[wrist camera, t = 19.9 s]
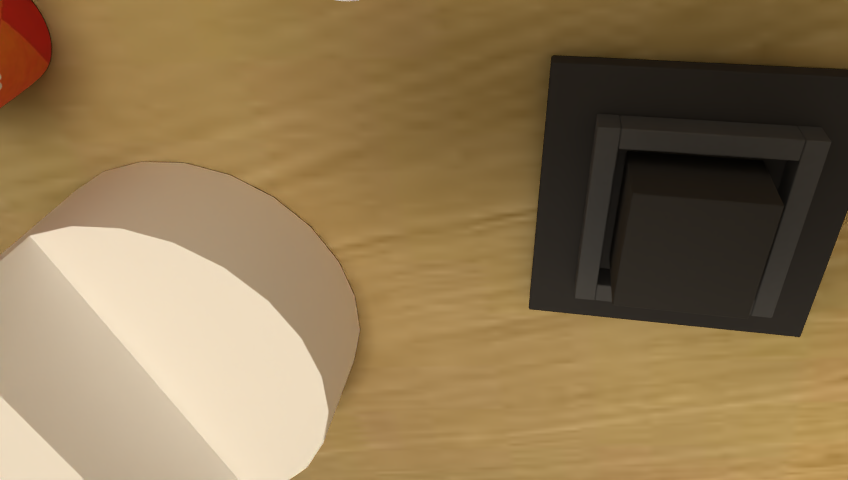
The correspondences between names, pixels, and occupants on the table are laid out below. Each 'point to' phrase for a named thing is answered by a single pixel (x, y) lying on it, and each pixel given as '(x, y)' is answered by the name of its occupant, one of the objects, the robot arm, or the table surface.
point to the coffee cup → (21, 47)
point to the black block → (692, 233)
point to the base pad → (691, 136)
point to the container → (170, 333)
